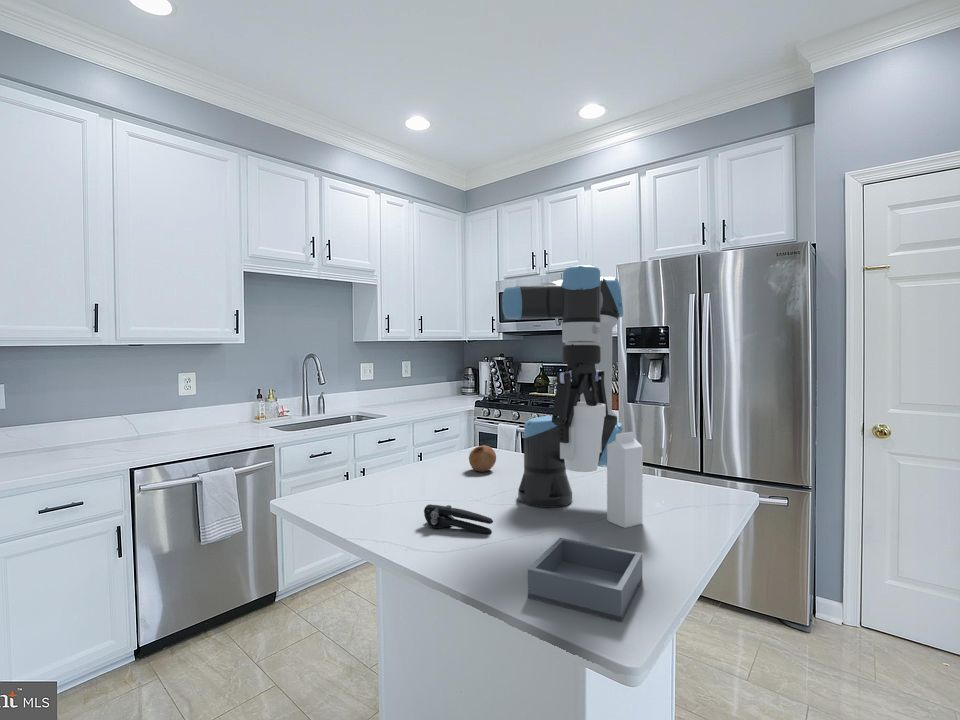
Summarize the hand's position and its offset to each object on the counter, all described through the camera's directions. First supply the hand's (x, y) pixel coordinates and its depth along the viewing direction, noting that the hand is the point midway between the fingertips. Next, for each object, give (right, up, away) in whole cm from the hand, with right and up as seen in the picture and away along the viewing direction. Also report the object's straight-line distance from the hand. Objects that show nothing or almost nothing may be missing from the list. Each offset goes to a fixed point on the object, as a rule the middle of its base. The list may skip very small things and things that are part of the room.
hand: (581, 455), depth 102 cm
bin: (-1, -22, -12) cm, 25 cm away
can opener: (-26, -21, +18) cm, 38 cm away
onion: (-20, -19, +73) cm, 78 cm away
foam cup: (0, -3, 0) cm, 3 cm away
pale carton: (+15, -21, +22) cm, 33 cm away
